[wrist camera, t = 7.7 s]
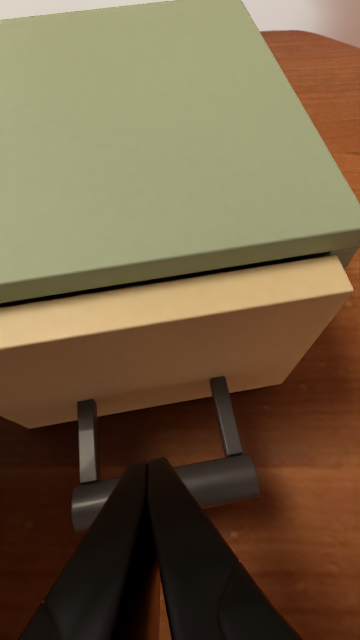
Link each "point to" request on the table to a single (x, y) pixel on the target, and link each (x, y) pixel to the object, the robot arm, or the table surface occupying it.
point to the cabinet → (156, 151)
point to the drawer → (164, 358)
